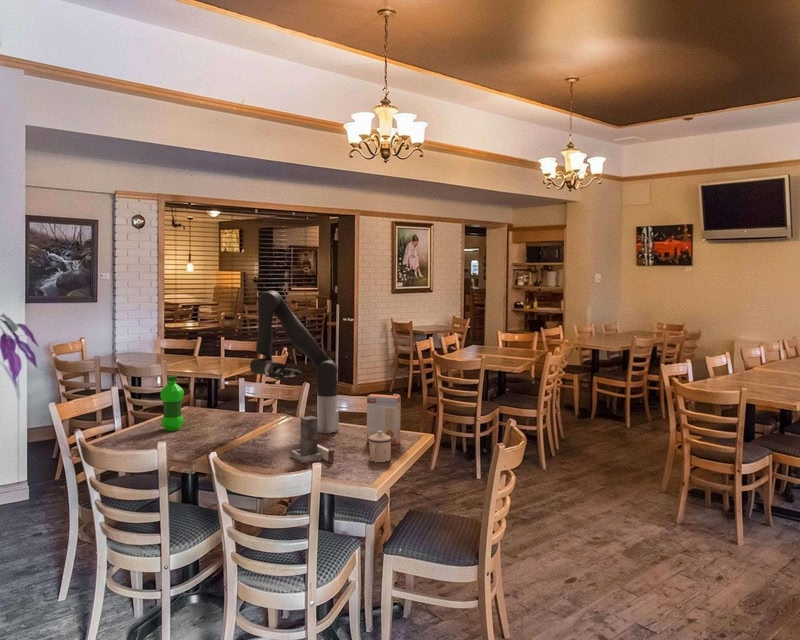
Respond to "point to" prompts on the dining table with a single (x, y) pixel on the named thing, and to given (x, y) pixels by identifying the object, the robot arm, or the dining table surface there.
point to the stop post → (309, 435)
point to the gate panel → (324, 451)
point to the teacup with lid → (379, 447)
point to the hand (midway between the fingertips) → (291, 375)
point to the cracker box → (384, 416)
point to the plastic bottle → (172, 404)
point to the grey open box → (310, 456)
